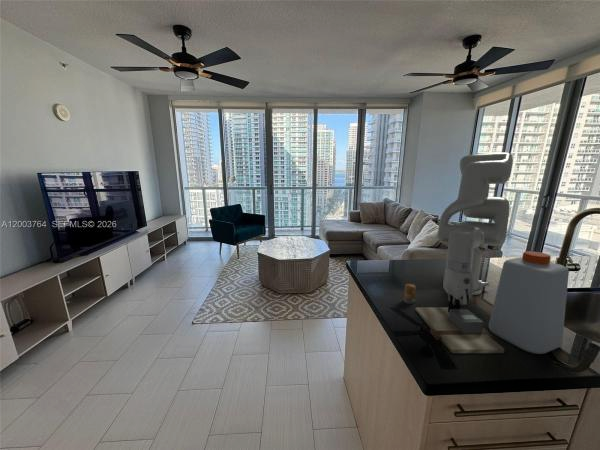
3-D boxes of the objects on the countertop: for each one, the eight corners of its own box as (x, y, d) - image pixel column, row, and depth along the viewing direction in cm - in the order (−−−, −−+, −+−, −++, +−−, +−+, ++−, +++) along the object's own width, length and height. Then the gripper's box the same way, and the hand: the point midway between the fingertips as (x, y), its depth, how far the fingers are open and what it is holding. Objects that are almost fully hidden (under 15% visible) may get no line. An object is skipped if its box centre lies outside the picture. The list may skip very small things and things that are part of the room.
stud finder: (465, 319, 87) (467, 308, 86) (482, 333, 79) (483, 321, 78) (448, 319, 87) (449, 308, 86) (463, 333, 79) (464, 321, 78)
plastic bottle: (567, 346, 75) (586, 258, 69) (537, 359, 69) (555, 265, 64) (510, 320, 89) (522, 244, 83) (482, 329, 83) (492, 250, 78)
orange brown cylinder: (411, 299, 105) (413, 283, 104) (416, 303, 101) (417, 287, 100) (402, 299, 105) (403, 283, 104) (406, 304, 101) (407, 288, 100)
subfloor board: (458, 309, 96) (458, 306, 96) (509, 352, 72) (509, 348, 72) (411, 310, 96) (411, 307, 96) (447, 353, 72) (447, 349, 72)
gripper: (485, 272, 78) (478, 325, 81) (456, 258, 93) (451, 303, 96) (461, 273, 78) (455, 325, 82) (436, 258, 93) (432, 303, 96)
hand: (453, 313), depth 89 cm, fingers closed
